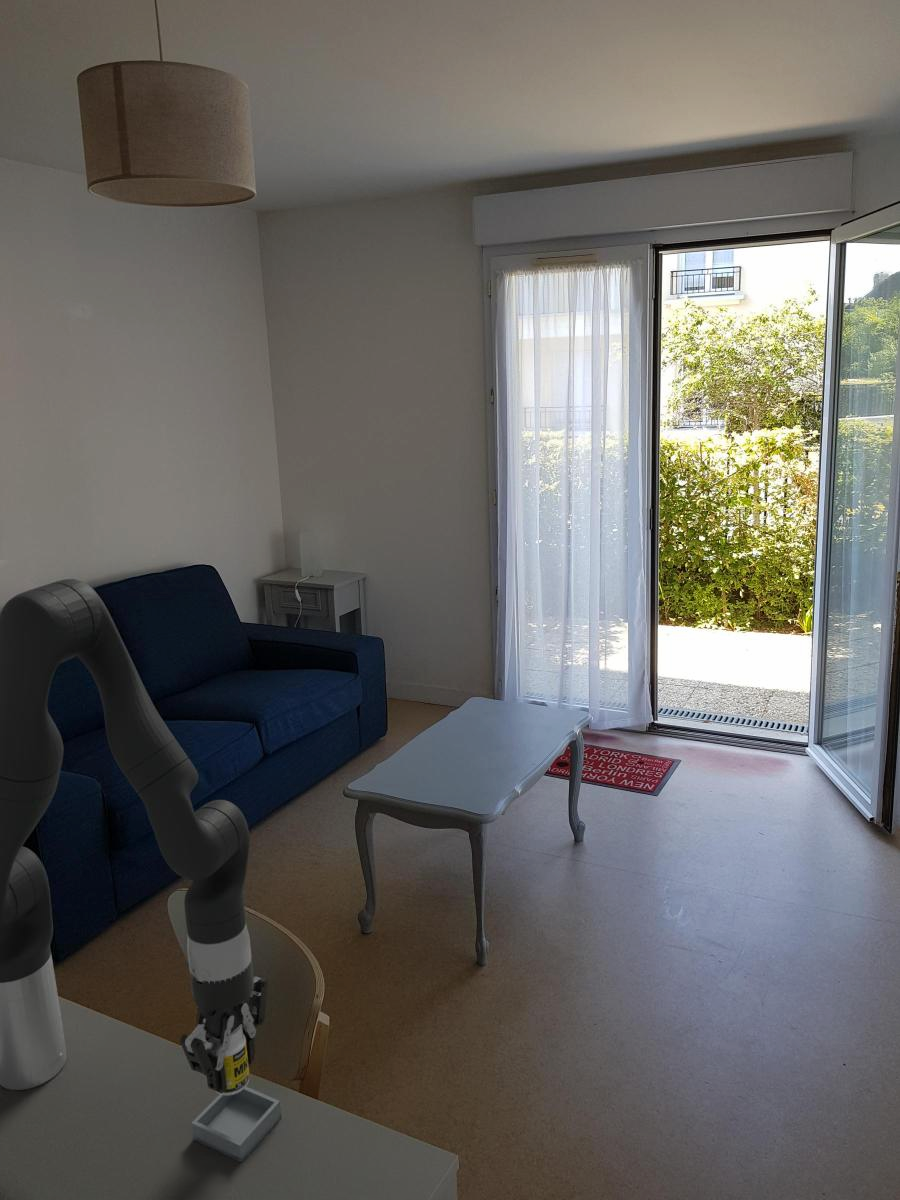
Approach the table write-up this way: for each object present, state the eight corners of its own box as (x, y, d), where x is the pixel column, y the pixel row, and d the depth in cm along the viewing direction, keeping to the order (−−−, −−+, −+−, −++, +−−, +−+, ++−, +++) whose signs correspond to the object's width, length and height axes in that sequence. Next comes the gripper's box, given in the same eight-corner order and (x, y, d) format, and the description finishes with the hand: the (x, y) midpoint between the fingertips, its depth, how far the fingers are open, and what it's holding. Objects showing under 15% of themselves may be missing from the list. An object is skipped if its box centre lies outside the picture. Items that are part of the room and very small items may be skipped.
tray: (193, 1139, 120) (191, 1122, 119) (234, 1096, 126) (232, 1080, 126) (241, 1162, 116) (239, 1145, 115) (281, 1117, 123) (280, 1100, 122)
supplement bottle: (240, 1099, 117) (234, 1042, 115) (205, 1094, 118) (199, 1038, 116) (255, 1071, 121) (250, 1016, 119) (222, 1067, 122) (216, 1012, 120)
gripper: (235, 921, 123) (246, 1031, 127) (155, 984, 110) (170, 1104, 115) (280, 935, 119) (290, 1048, 123) (203, 1003, 107) (217, 1125, 111)
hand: (232, 1074), depth 119 cm, fingers closed on supplement bottle, 4 cm apart
